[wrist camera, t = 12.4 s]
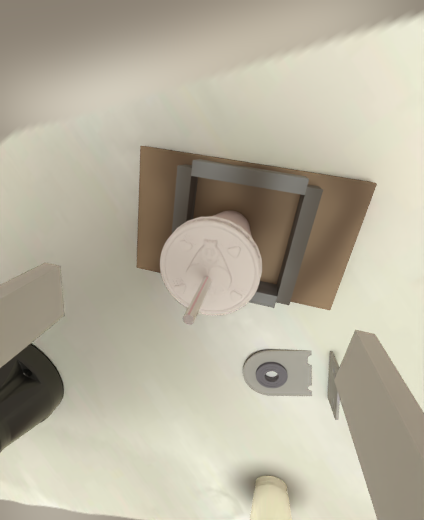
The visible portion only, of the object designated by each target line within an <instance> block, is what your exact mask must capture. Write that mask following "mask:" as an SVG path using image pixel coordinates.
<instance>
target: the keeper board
mask: <svg viewBox="0 0 424 520" xmlns="http://www.w3.org/2000/svg"><path fill="white" fill-rule="evenodd" d="M376 185H377V184H376V183H373V182H368V181H361V180H355V179H349V178H343V177H336V176H330V175H324V174H317V173H311V172H305V171H298V170H292V169H286V168H280V167H273V166H267V165H261V164H254V163H248V162H242V161H235V160H229V159H223V158H216V157H210V156H204V155H198V154H191V153H185V152H179V151H172V150H166V149H160V148H153V147H147V146H141V149H140V179H139V210H138V241H137V268H141V269H145V270H150V271H155V272H159V273H161V271H160V257H161V252H162V249H163V247H164V245H165V243H166V241H167V239H168V238H169V237H170V236H171V235H172V234H173V232H174V231H175V230H176V229H177V228H178V227H179V226H181V225H182V224H184V223H185V222H187V221H189V220H192V219H195V218H198V217H208V216H214V215H216V214H218V213H221V212H223V211H228V210H231V211H236V212H239V213H240V214H242V215H243V216H244V217H245V218H246V219H247V221H248V223H249V227H250V231H251V236H252V238H253V240H254V242H255V243H256V245H257V246H258V249H259V252H260V255H261V258H262V274H261V278H260V283H259V286H258V289H257V291H256V293H255V294H254V296H253V297H252V299H251V300H250V301H249V302H251V303H255V304H259V305H264V306H268V307H273V308H274V307H275V303H276V302H277V303H281V304H286V305H289V304H290V302H295V303H299V304H304V305H308V306H313V307H317V308H322V309H326V310H330V309H331V307H332V304H333V301H334V298H335V296H336V293H337V290H338V288H339V285H340V282H341V279H342V277H343V274H344V271H345V269H346V266H347V263H348V261H349V258H350V255H351V252H352V250H353V247H354V244H355V242H356V239H357V236H358V233H359V231H360V228H361V225H362V223H363V220H364V217H365V214H366V212H367V209H368V206H369V204H370V201H371V198H372V196H373V193H374V190H375V187H376Z"/></svg>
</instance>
